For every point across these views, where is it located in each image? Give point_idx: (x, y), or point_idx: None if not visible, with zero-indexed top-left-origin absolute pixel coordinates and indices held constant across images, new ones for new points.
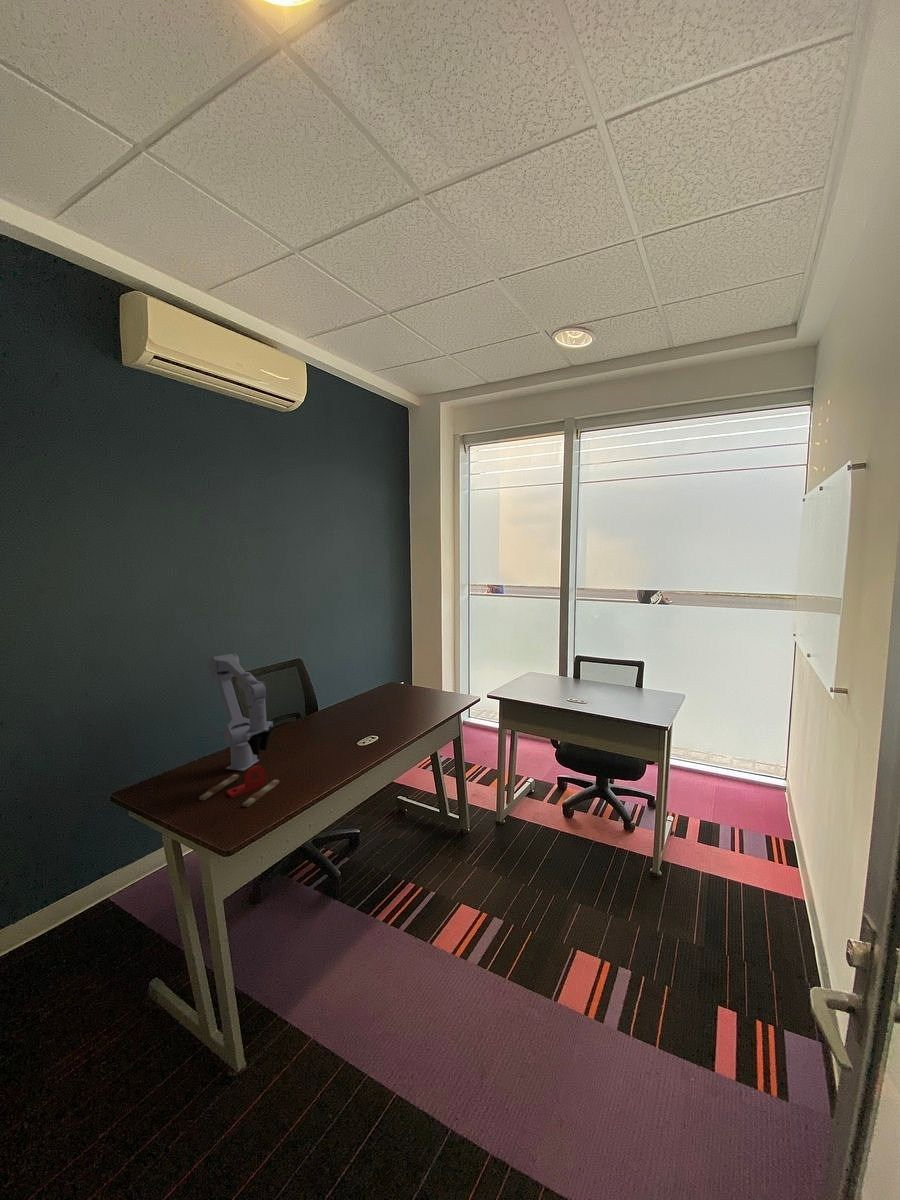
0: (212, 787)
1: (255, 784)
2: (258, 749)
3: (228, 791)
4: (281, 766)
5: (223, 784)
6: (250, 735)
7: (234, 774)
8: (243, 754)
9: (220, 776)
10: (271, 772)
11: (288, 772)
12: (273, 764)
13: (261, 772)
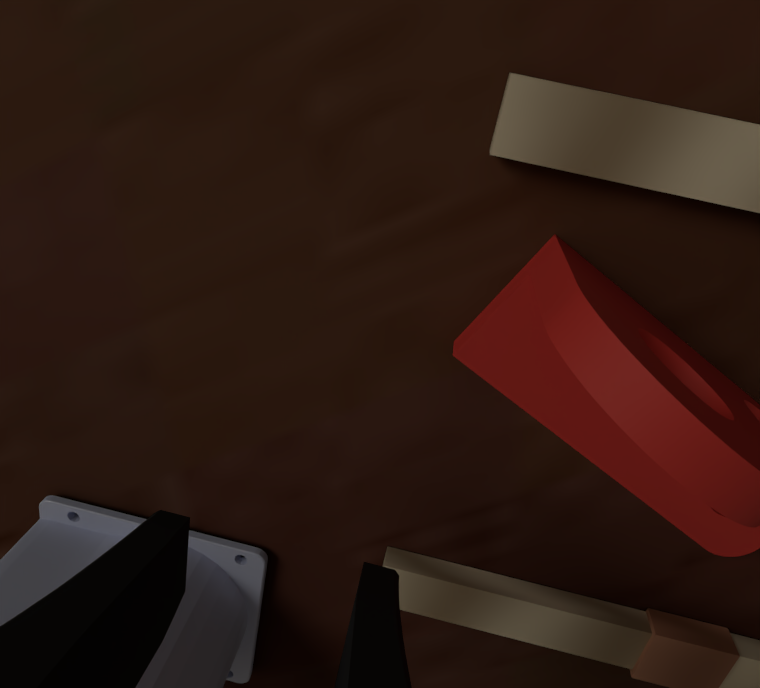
0: (652, 680)
1: (657, 330)
2: (387, 653)
3: (754, 540)
4: (88, 234)
5: (586, 621)
6: None
7: None
8: (157, 685)
9: None
10: (245, 289)
11: (211, 74)
12: (70, 340)
13: (626, 328)
